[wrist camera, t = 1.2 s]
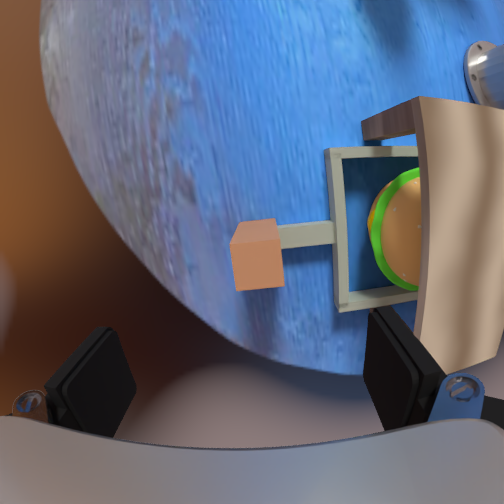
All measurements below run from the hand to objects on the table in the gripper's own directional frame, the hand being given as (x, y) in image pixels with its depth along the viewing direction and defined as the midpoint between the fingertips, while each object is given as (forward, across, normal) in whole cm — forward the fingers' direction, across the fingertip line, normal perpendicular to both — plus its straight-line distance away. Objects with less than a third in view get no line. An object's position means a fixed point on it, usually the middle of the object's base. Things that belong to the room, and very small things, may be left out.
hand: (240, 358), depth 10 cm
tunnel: (+20, -17, 0) cm, 26 cm away
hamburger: (+21, -16, 0) cm, 26 cm away
